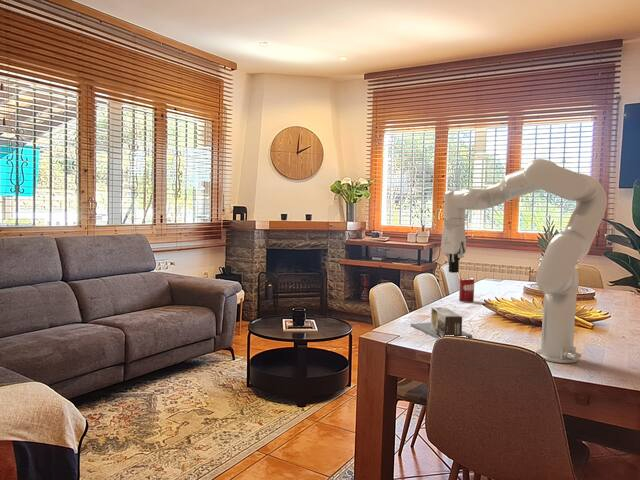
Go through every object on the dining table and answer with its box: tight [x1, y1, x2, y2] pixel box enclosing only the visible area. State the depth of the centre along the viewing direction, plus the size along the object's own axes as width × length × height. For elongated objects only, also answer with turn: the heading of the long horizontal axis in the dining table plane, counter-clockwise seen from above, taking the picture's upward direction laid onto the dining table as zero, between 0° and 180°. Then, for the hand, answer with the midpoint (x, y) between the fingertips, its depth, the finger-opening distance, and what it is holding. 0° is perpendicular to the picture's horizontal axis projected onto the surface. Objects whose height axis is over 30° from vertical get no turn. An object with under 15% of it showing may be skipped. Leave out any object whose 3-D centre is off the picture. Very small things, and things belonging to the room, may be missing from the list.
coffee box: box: [430, 306, 463, 337], centre depth 186 cm, size 9×6×16 cm
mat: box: [410, 322, 473, 339], centre depth 196 cm, size 22×14×1 cm, turn 18°
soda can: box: [458, 277, 475, 304], centre depth 258 cm, size 7×7×12 cm
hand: (453, 272), depth 187 cm, fingers closed
